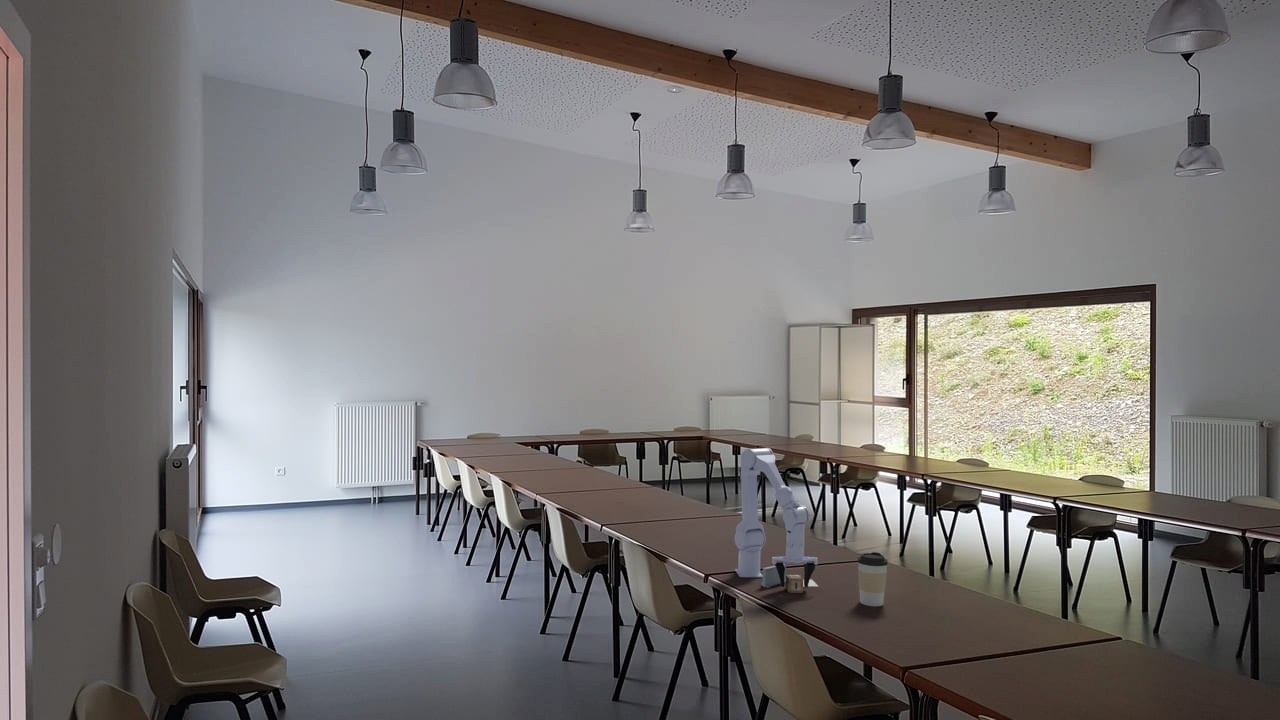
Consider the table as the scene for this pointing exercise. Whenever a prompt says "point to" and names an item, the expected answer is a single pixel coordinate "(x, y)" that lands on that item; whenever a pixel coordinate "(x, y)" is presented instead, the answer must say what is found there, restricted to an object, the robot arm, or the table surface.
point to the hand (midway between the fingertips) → (794, 586)
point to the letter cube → (794, 584)
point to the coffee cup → (872, 578)
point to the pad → (811, 583)
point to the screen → (771, 576)
